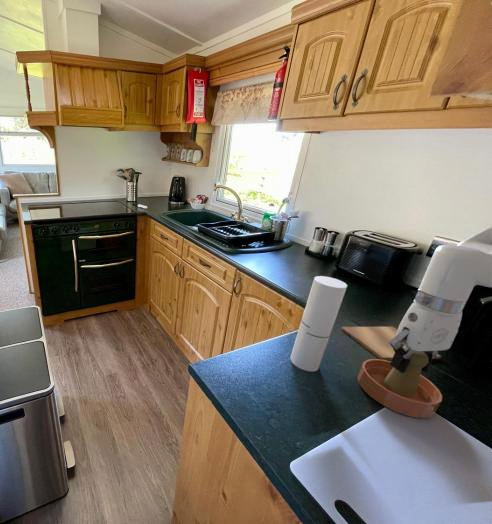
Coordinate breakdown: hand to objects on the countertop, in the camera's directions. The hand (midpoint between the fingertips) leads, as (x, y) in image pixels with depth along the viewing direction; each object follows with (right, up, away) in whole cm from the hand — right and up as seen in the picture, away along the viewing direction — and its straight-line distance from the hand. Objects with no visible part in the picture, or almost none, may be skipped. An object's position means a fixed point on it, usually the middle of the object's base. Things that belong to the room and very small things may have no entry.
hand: (408, 367), depth 69 cm
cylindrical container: (-18, -3, +12) cm, 22 cm away
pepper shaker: (0, -6, +2) cm, 6 cm away
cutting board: (+15, -1, +24) cm, 29 cm away
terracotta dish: (-1, -8, +3) cm, 8 cm away
